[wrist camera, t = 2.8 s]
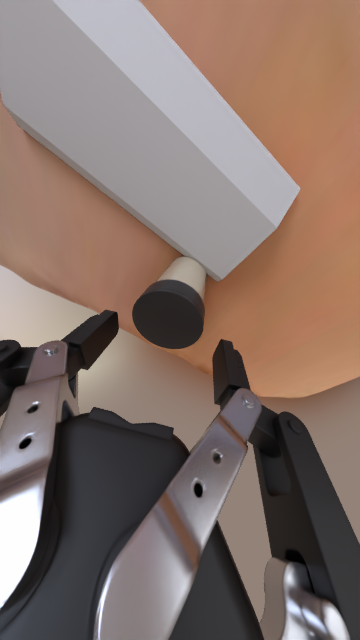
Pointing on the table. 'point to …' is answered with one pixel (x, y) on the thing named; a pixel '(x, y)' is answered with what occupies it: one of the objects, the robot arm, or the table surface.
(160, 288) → the jar lid
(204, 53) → the table surface
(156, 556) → the robot arm
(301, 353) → the table surface
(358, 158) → the table surface
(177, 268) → the coffee jar
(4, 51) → the crown molding
